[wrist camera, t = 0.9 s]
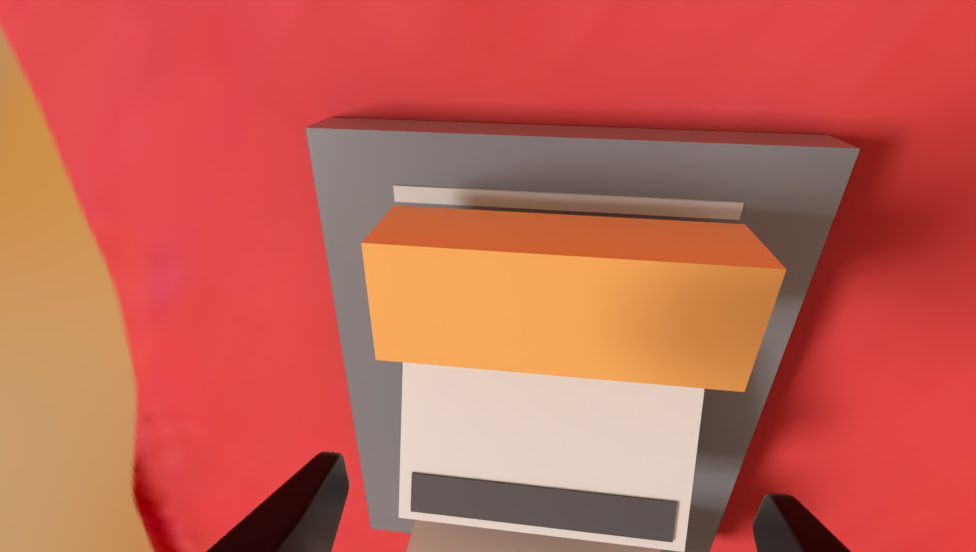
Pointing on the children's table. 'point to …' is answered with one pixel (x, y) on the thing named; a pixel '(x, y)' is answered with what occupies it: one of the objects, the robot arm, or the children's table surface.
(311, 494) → the robot arm
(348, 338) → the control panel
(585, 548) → the cream key
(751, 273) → the orange key
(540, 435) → the cream plate with stripe
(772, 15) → the children's table surface
